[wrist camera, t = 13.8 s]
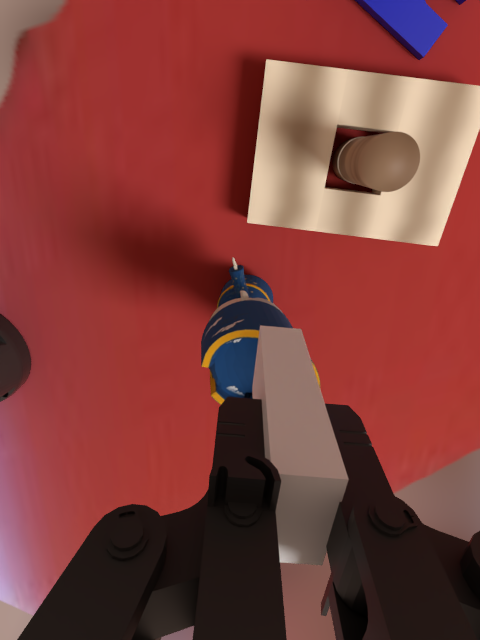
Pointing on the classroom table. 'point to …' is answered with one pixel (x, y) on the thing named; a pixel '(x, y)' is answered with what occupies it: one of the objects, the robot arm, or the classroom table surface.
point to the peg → (378, 161)
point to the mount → (408, 22)
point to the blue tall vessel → (238, 334)
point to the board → (367, 115)
